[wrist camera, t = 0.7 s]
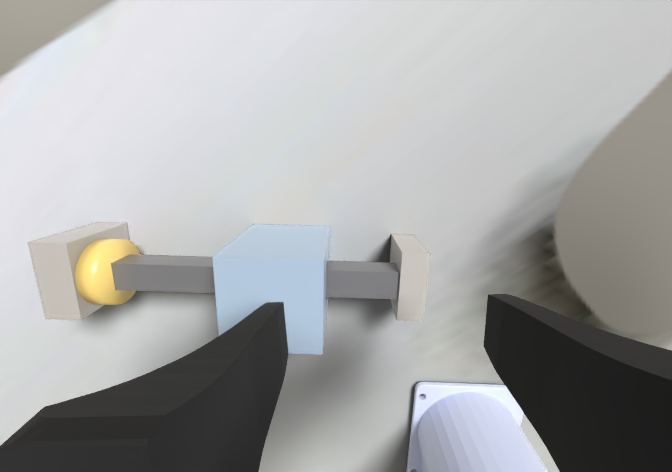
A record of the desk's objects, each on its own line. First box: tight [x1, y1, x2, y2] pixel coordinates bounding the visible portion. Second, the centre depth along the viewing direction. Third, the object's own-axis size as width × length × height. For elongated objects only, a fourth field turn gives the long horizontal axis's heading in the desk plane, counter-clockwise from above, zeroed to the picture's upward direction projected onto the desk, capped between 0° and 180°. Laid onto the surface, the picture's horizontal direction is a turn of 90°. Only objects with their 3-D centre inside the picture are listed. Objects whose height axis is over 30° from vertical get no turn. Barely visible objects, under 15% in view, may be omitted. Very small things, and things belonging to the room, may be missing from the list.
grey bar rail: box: [28, 222, 431, 321], centre depth 19 cm, size 21×4×5 cm, turn 89°
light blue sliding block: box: [212, 224, 330, 355], centre depth 18 cm, size 5×5×7 cm
